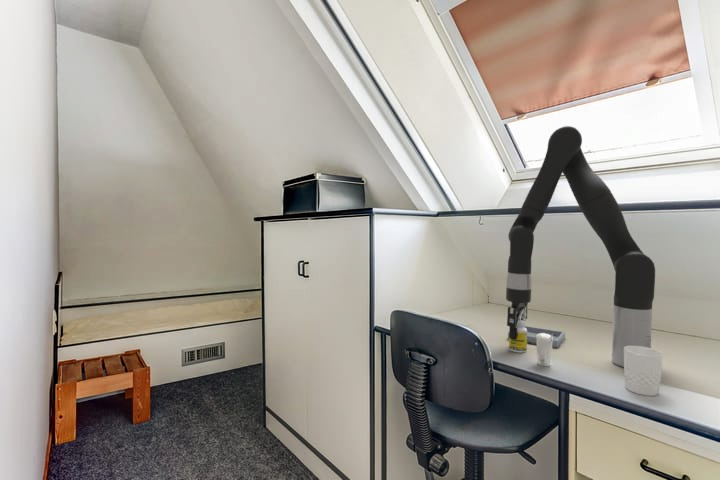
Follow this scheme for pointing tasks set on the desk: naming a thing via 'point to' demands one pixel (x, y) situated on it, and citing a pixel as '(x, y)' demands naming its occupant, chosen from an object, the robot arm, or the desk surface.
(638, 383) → the white cup
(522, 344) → the supplement bottle
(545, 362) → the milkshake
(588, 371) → the desk surface
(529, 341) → the tray
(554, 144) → the robot arm
